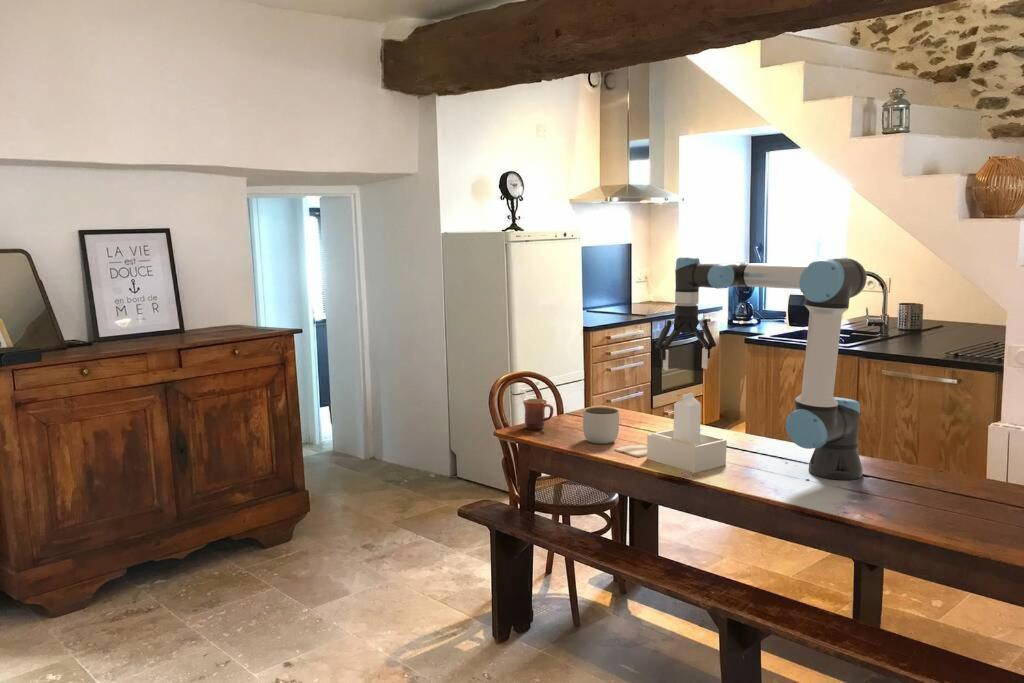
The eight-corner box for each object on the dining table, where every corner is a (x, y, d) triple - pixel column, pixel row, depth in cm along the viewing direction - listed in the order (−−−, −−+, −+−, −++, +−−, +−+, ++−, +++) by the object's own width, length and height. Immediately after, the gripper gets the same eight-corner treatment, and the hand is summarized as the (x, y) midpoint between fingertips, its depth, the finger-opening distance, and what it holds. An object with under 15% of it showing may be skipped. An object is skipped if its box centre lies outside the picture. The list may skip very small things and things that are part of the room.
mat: (661, 452, 273) (662, 450, 273) (638, 457, 266) (638, 455, 266) (637, 445, 282) (637, 443, 281) (614, 450, 275) (614, 448, 275)
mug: (518, 429, 305) (518, 401, 303) (530, 424, 312) (530, 397, 311) (546, 433, 298) (546, 405, 297) (558, 428, 306) (558, 401, 304)
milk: (699, 462, 261) (702, 393, 258) (687, 465, 257) (690, 396, 254) (683, 458, 266) (685, 390, 263) (671, 461, 262) (674, 393, 259)
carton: (725, 465, 258) (726, 438, 257) (694, 473, 249) (695, 445, 248) (678, 451, 274) (678, 426, 272) (646, 458, 265) (647, 433, 264)
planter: (618, 446, 280) (618, 415, 278) (581, 445, 282) (581, 413, 280) (619, 437, 292) (620, 407, 291) (584, 436, 294) (584, 406, 292)
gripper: (717, 303, 276) (715, 366, 278) (646, 304, 271) (645, 368, 274) (727, 304, 268) (725, 369, 271) (654, 306, 264) (653, 372, 267)
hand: (685, 369), depth 272 cm, fingers open, 13 cm apart
